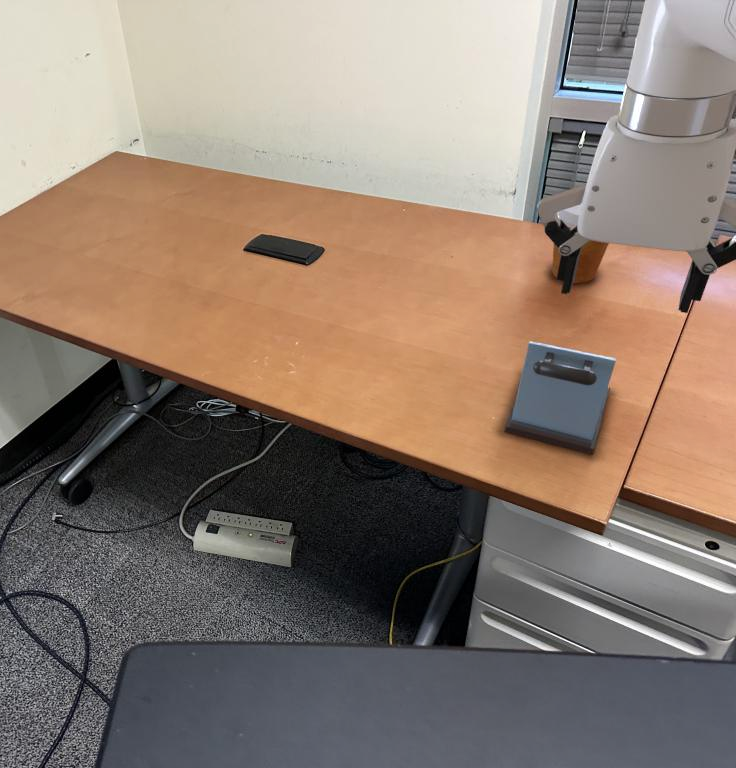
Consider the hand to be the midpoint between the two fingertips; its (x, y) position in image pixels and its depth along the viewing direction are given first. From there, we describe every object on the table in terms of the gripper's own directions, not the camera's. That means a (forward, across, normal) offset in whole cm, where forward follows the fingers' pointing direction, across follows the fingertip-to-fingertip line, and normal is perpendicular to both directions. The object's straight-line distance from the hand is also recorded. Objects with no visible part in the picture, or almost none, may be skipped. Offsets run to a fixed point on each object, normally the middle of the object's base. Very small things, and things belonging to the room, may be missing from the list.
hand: (623, 295), depth 64 cm
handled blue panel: (+17, +4, -6) cm, 19 cm away
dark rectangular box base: (+24, +4, -10) cm, 26 cm away
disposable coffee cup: (+24, +7, -44) cm, 51 cm away
